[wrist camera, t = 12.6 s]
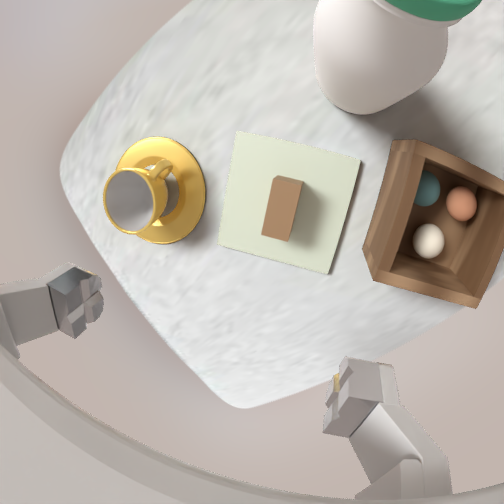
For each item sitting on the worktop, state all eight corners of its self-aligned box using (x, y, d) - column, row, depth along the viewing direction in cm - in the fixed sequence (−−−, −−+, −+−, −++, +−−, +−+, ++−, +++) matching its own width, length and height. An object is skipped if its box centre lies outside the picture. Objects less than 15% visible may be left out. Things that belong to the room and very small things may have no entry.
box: (483, 179, 21) (521, 191, 15) (450, 275, 25) (476, 308, 19) (392, 140, 23) (416, 139, 16) (362, 249, 27) (373, 280, 21)
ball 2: (441, 225, 23) (454, 235, 20) (430, 254, 25) (441, 267, 22) (414, 215, 24) (425, 224, 21) (404, 246, 25) (413, 258, 22)
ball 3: (470, 190, 21) (486, 196, 18) (461, 220, 23) (476, 229, 20) (446, 179, 22) (460, 184, 19) (437, 210, 23) (450, 219, 20)
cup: (161, 262, 33) (136, 282, 28) (100, 190, 32) (70, 199, 27) (230, 194, 28) (210, 205, 23) (156, 114, 27) (126, 111, 22)
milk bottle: (384, 128, 22) (520, 104, 4) (305, 97, 23) (265, -13, 5) (404, 60, 19) (517, -42, 1) (327, 30, 20) (324, -125, 2)
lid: (358, 159, 25) (365, 162, 21) (327, 269, 29) (327, 288, 25) (240, 131, 26) (226, 129, 22) (220, 240, 31) (206, 255, 27)
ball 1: (436, 174, 22) (449, 179, 19) (427, 206, 23) (439, 214, 20) (407, 163, 22) (418, 166, 19) (398, 196, 24) (408, 203, 21)
